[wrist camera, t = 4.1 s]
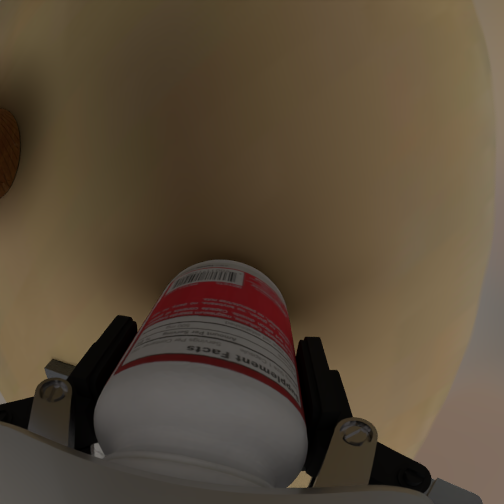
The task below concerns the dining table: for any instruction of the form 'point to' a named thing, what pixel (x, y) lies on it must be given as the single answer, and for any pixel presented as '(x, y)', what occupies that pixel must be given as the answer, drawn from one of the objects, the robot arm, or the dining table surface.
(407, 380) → the dining table surface
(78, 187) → the dining table surface
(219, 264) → the pill bottle
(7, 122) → the disposable coffee cup
